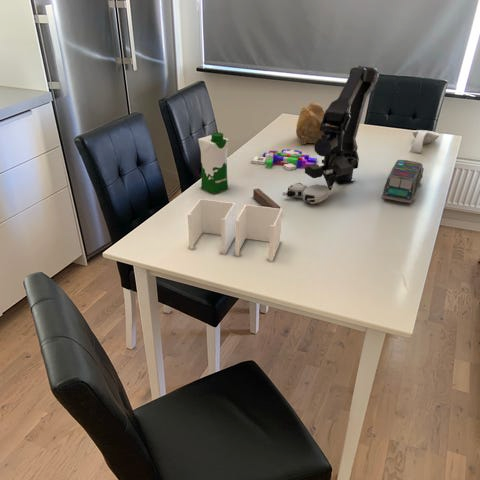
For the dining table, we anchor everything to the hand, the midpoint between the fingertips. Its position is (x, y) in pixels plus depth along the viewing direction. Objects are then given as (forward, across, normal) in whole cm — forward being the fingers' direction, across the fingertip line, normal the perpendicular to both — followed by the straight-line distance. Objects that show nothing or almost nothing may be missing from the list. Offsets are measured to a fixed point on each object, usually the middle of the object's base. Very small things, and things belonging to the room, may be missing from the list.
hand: (329, 189), depth 171 cm
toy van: (+3, +26, -9) cm, 27 cm away
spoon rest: (+5, +68, +27) cm, 73 cm away
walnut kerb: (+1, -26, 0) cm, 26 cm away
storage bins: (0, -46, -19) cm, 50 cm away
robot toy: (+2, -10, 0) cm, 10 cm away
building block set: (+2, +2, +36) cm, 36 cm away
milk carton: (0, -36, +22) cm, 42 cm away
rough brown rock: (+3, +27, +52) cm, 58 cm away
